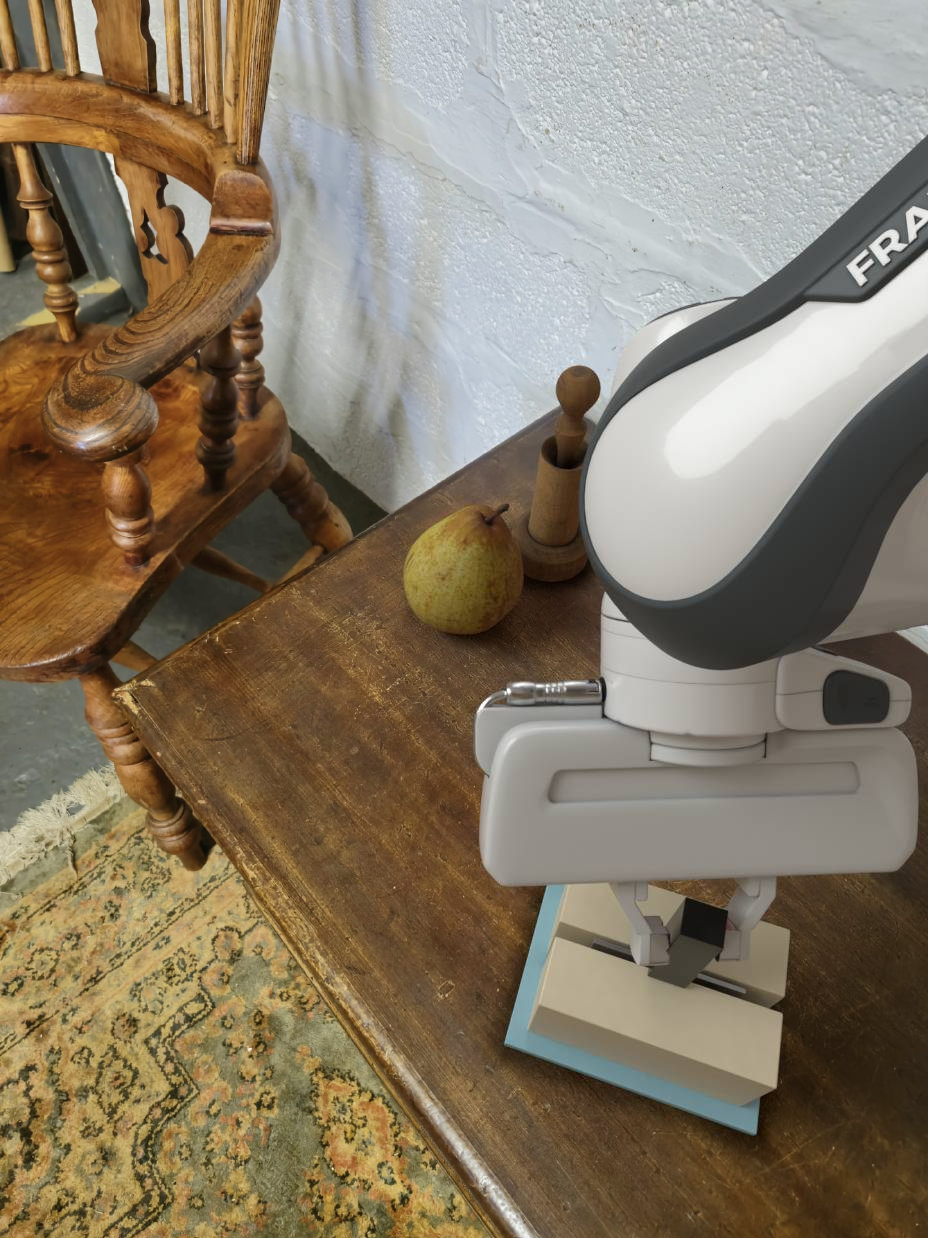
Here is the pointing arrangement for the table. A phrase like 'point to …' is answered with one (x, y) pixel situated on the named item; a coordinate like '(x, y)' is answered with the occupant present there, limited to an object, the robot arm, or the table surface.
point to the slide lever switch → (650, 1009)
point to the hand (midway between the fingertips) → (688, 958)
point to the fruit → (464, 571)
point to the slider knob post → (687, 947)
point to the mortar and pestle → (559, 487)
